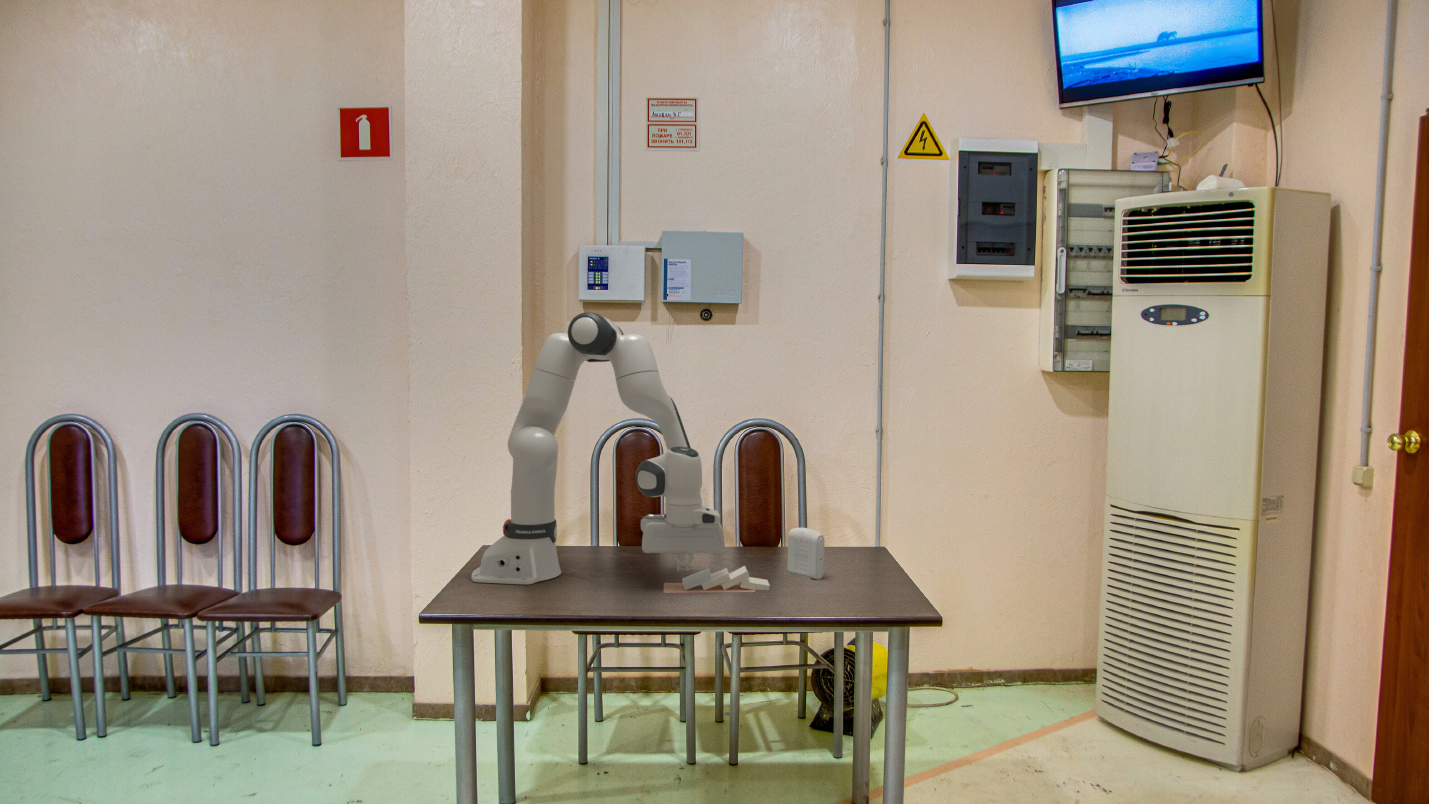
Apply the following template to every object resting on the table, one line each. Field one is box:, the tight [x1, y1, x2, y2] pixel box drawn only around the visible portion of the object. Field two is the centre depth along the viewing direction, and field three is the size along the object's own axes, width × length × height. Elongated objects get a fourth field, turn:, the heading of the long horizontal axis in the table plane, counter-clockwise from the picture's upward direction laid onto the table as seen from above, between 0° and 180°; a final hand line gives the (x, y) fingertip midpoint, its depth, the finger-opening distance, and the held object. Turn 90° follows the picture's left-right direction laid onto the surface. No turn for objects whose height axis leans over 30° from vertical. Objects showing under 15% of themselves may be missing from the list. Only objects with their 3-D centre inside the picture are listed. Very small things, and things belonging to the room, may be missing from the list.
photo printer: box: [787, 527, 826, 580], centre depth 205 cm, size 10×4×12 cm, turn 47°
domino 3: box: [721, 565, 751, 590], centre depth 192 cm, size 2×5×7 cm
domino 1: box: [681, 567, 712, 590], centre depth 192 cm, size 2×5×7 cm
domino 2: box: [701, 567, 731, 590], centre depth 192 cm, size 2×5×7 cm
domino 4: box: [739, 576, 771, 591], centre depth 192 cm, size 2×5×7 cm
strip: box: [663, 582, 756, 594], centre depth 192 cm, size 22×8×1 cm, turn 93°
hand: (683, 570), depth 191 cm, fingers closed
